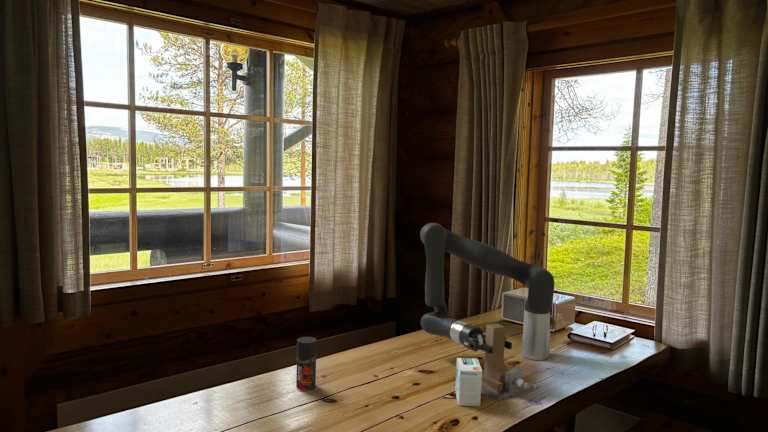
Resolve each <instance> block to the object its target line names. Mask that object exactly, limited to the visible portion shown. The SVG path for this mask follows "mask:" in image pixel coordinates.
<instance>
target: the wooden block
mask: <svg viewBox="0 0 768 432" xmlns="http://www.w3.org/2000/svg"><path fill="white" fill-rule="evenodd" d="M485 334H486V344H487V345H489V346H492V347H493V353H492V354H489V353H487V352H485V351H484V365H483V366H484V367H483V368H484V369H483V370H484V371H483V375H486V376H488V377H490V378H492V379H494V380H496V381H498V382H501V383H503V384H502V388H504V387H505V372H506V371H508V370H509V369H507V367H506V365H505V347H504V343H505V337H506V327H505V326H504V325H502V324H500V323H490V324H489V323H488V324H486V331H485Z"/></svg>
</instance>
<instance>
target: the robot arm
mask: <svg viewBox="0 0 768 432" xmlns="http://www.w3.org/2000/svg"><path fill="white" fill-rule="evenodd" d="M419 234H420V235H419V236H420V240H421V242H422V244H424V246H423V247H424V252H425V258H426V268H425V269H426V271H425V279H424V302H425V305H427V306H428V307H433V309H434V311H433V312H428V313H427V312H426V313H425V314H423V315H422V317H421V318H420V326H421V328H422V330H423V331H424V332H426V334H429V335H432V336H433V335H434V336H438V337H446V338H448V339H450V340H452V341H454V342H456V343H458V344H460V345H462V346H463V347H464V348H467V349H469V350H471V351H473V352H478V351H479V352H484V353H485V352H487V353H489V354H492V353H493V347H492V346H489V345H487V344H486V332H485V333H484V331H483V329H482V328H481V327H480V326H477V325H474V324H472V323H469V322H466V321H463V320H459V319H456V318H452V317H450V316H449V312H448V309H447V303H446V301H445V275H444V274H445V273H444V272H445V268H444V267H445V254H446V253H448V254H451V255H454V256H455V257H457V258H458V259H460V260H462V261H463V262H466V263H467V264H469V265H471V266H473V267H475V268H477V269H479V270H482V271H485V272H487V273H490V274H494V275H498V276H503V277H507V278H510V279H513V280H515V281H516V282H518V283H520V284H522V285H524V287H527V288H528V291H527V300H526V301H525V302H524V309H523V310H524V313H523V327H522V329H523V331H522V343H521V346H522V347H521V355H522V357H523V358H524V359H525V358H526V359H528V360H532V361H543V360H544V361H545V360H546V359H548V357H549V356H550V347H551V346H550V345H551V330H550V323H551V308H552V306H553V304H554V303H553V302H554V293H555V278H554V275H553V274H552V273H551V272H550V271H549V270H548V269H546V268H544V267H542V266H539V265H535V264H531V263H528V262H525V261H523V260H520V259H517V258H515V257H514V256H511V255H509V254H508V253H506V252H505V251H502V250H501V249H499V248H496V247H494V246H492V245H489V244H486V243H484V242H481V241H478V240H475V239H472V238H468V237H466V236H462V235H459V234H456V232H453V231H451V230H450V229H447V228H445V227H444V226H442V225H441V224H440V223H436V222H429V223H426V224H425V225H424V226H423V227H422V228H421V229H420V233H419ZM505 348H506V349H508V350H512V348H513V343H512V342H511V341H509V340H507V336H505V343H504V349H505Z"/></svg>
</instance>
